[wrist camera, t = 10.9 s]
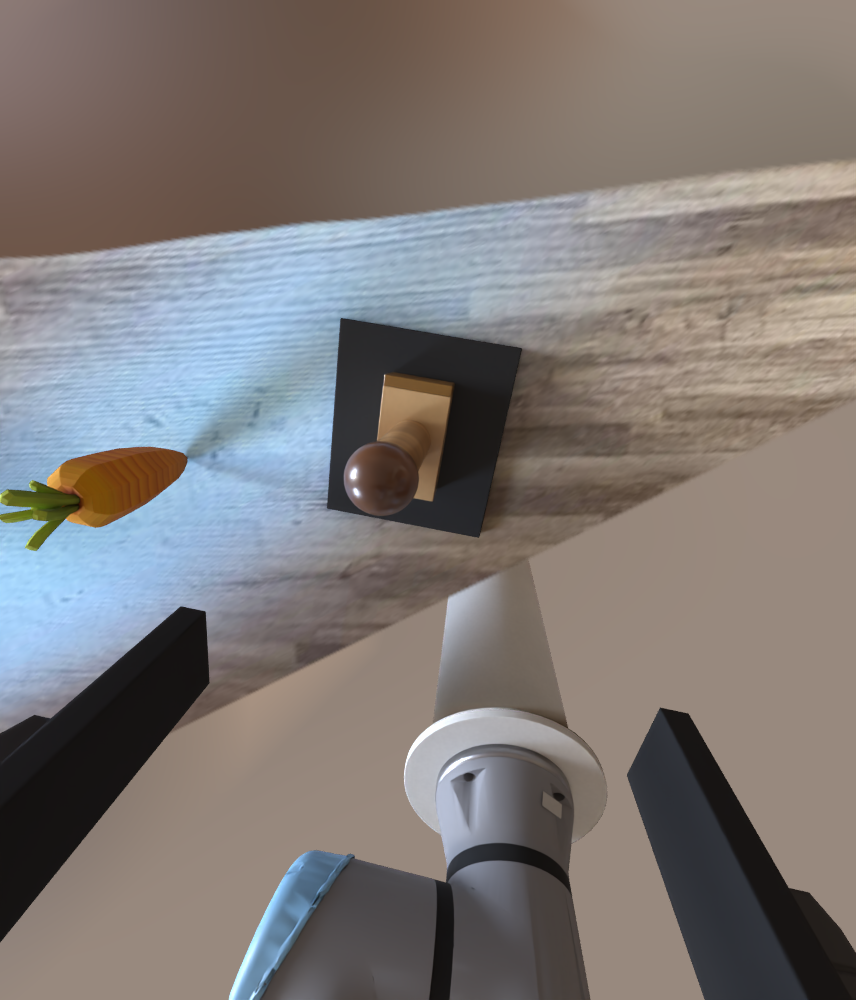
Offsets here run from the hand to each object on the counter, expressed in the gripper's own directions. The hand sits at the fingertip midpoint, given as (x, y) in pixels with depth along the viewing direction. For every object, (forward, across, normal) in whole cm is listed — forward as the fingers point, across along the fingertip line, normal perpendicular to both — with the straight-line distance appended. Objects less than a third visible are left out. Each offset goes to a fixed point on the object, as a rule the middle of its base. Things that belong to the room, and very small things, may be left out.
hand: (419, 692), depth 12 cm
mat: (+25, -4, +2) cm, 25 cm away
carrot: (+25, -25, -4) cm, 36 cm away
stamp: (+24, -4, +2) cm, 24 cm away
